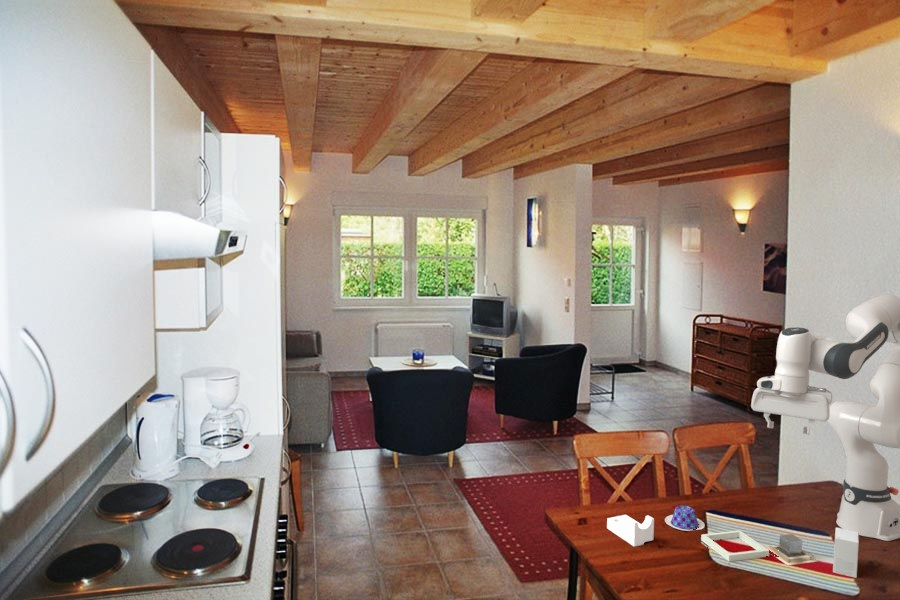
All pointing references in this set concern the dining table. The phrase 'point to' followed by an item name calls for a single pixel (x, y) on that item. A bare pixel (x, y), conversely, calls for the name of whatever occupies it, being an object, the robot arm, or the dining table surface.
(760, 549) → the tray
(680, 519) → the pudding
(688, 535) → the dining table surface
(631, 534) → the bracket
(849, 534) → the small box
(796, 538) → the gray block
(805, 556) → the socket holder
